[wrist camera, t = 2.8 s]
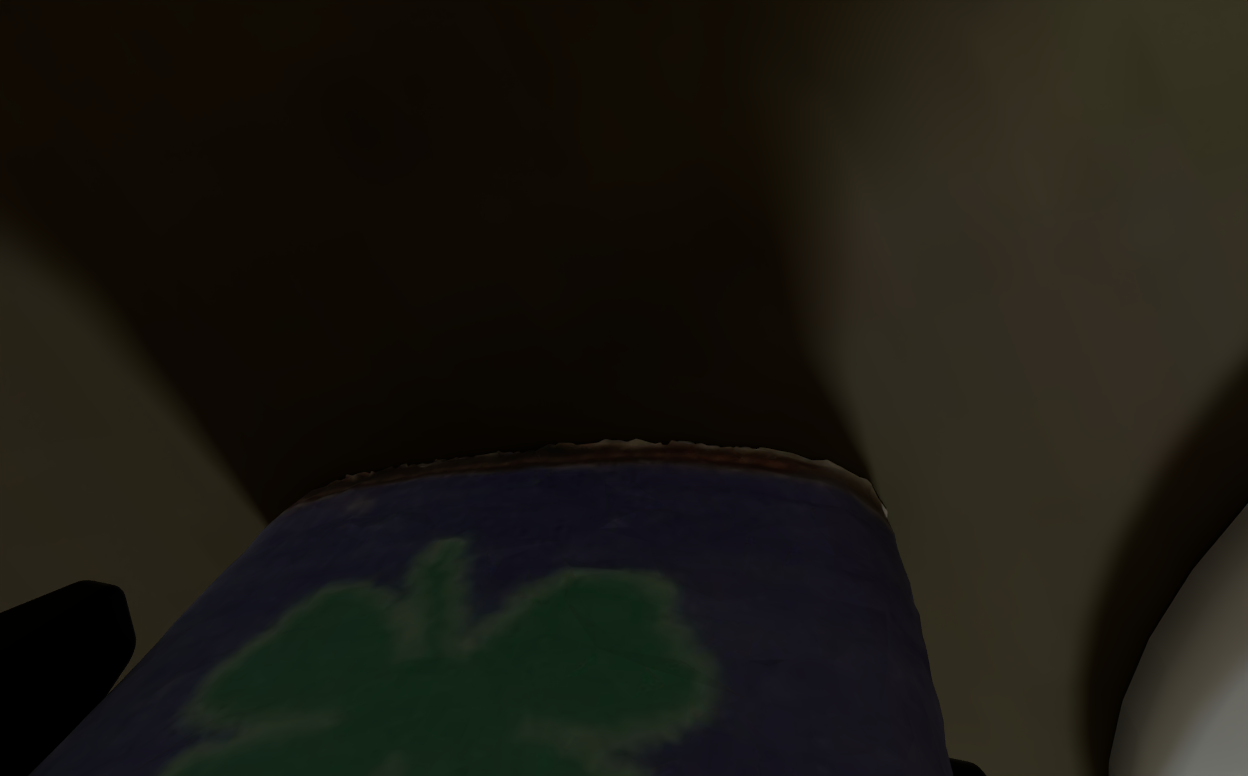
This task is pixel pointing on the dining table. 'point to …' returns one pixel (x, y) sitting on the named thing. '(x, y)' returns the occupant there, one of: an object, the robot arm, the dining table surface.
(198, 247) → the dining table surface
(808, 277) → the dining table surface
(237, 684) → the flask
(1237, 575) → the plate
